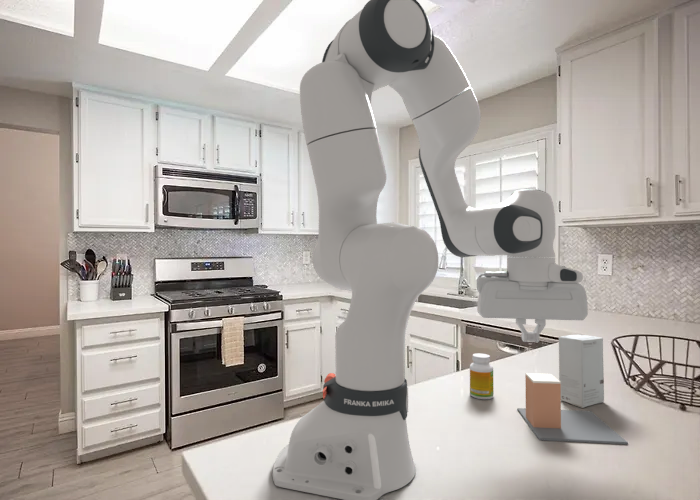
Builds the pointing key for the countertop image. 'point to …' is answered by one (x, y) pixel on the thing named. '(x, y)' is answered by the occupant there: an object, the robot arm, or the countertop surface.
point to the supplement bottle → (481, 377)
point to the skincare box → (581, 369)
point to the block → (543, 400)
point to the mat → (577, 428)
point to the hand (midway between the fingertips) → (530, 341)
